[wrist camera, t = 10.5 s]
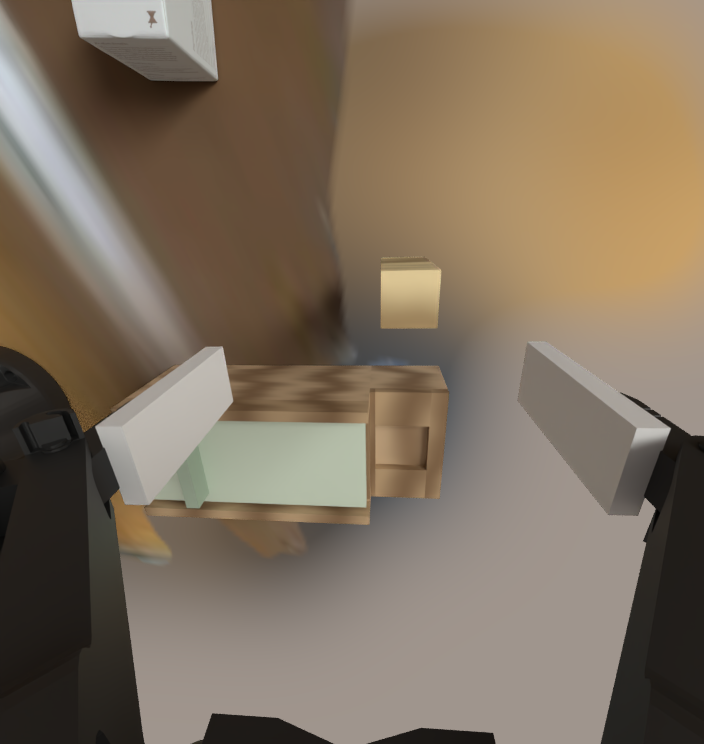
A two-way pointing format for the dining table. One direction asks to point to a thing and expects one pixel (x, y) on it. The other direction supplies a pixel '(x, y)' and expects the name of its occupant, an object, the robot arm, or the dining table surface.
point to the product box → (153, 36)
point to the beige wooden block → (409, 292)
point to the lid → (275, 465)
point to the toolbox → (339, 405)
